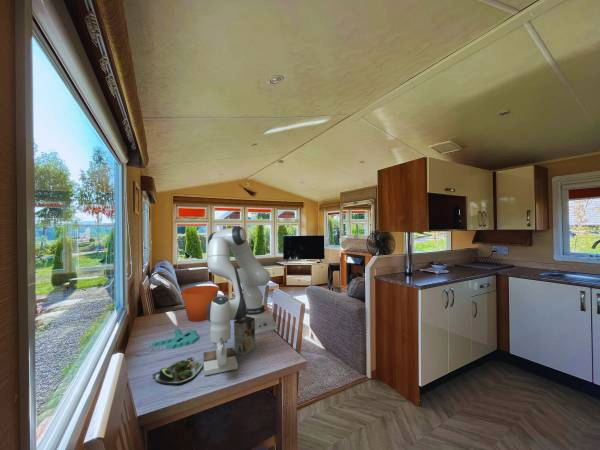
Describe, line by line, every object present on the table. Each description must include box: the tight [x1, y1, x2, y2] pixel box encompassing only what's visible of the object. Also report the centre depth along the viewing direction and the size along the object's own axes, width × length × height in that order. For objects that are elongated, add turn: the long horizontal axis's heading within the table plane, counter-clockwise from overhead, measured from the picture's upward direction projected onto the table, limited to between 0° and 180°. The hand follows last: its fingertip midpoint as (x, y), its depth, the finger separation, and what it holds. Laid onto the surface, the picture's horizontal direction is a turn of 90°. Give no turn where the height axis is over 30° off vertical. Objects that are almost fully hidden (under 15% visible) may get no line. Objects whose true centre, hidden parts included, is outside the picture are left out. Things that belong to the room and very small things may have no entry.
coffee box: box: [233, 316, 256, 356], centre depth 133 cm, size 9×6×16 cm
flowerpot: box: [180, 285, 219, 323], centre depth 180 cm, size 25×25×20 cm
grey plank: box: [203, 356, 239, 376], centre depth 116 cm, size 14×9×2 cm, turn 112°
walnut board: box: [203, 347, 236, 363], centre depth 124 cm, size 14×9×2 cm, turn 112°
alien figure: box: [151, 328, 200, 350], centre depth 145 cm, size 20×2×20 cm
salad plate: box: [151, 357, 203, 387], centre depth 113 cm, size 19×18×5 cm
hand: (220, 366), depth 113 cm, fingers closed, pressing on grey plank
